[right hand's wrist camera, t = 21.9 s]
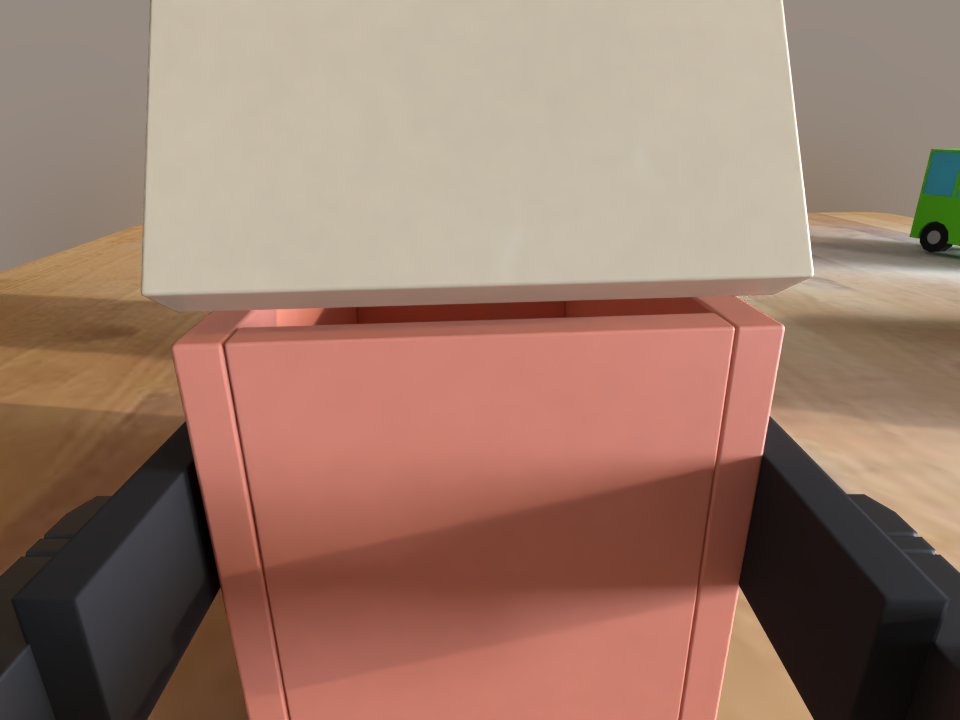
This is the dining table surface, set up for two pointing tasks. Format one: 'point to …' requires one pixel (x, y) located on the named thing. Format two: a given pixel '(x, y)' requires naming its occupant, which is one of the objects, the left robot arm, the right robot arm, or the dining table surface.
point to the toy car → (939, 202)
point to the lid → (468, 152)
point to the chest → (481, 502)
